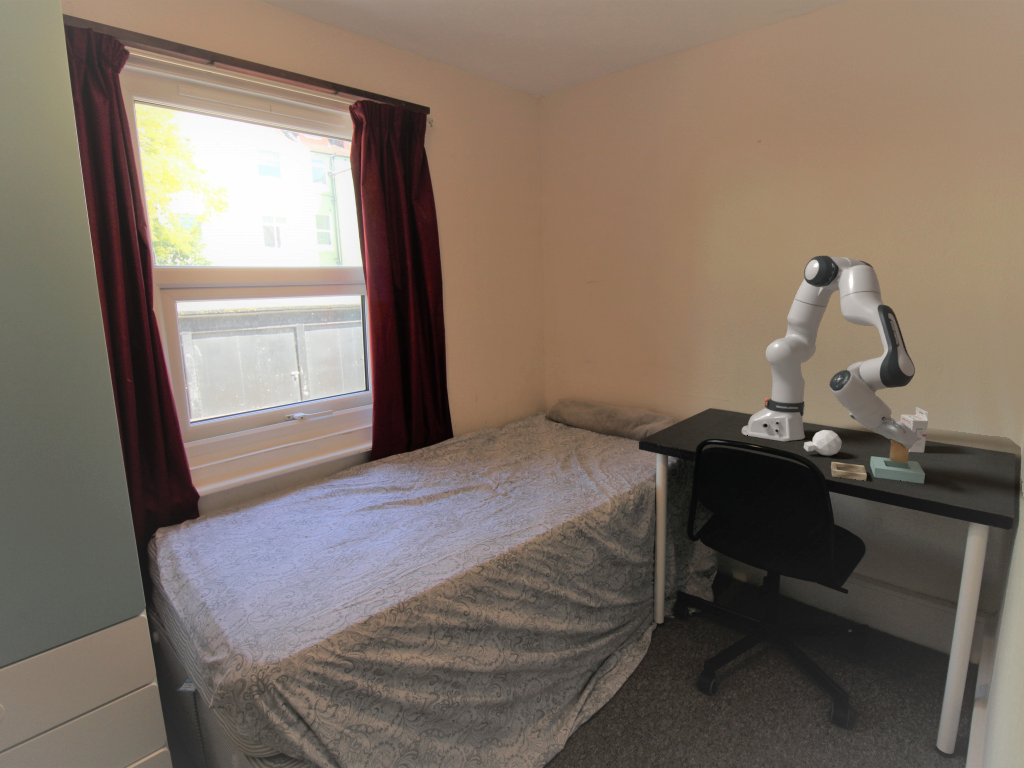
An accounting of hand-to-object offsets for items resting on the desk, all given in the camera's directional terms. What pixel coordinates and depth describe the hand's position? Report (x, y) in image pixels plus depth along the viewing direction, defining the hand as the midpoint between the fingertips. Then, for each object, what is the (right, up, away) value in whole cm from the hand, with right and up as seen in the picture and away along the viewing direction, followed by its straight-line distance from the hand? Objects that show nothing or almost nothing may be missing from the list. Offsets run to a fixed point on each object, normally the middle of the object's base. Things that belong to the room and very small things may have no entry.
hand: (902, 444), depth 161 cm
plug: (0, -5, +1) cm, 5 cm away
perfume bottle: (-13, -6, +22) cm, 26 cm away
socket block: (-1, -9, +2) cm, 10 cm away
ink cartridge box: (+22, -5, +25) cm, 34 cm away
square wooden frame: (-15, -10, +3) cm, 18 cm away
